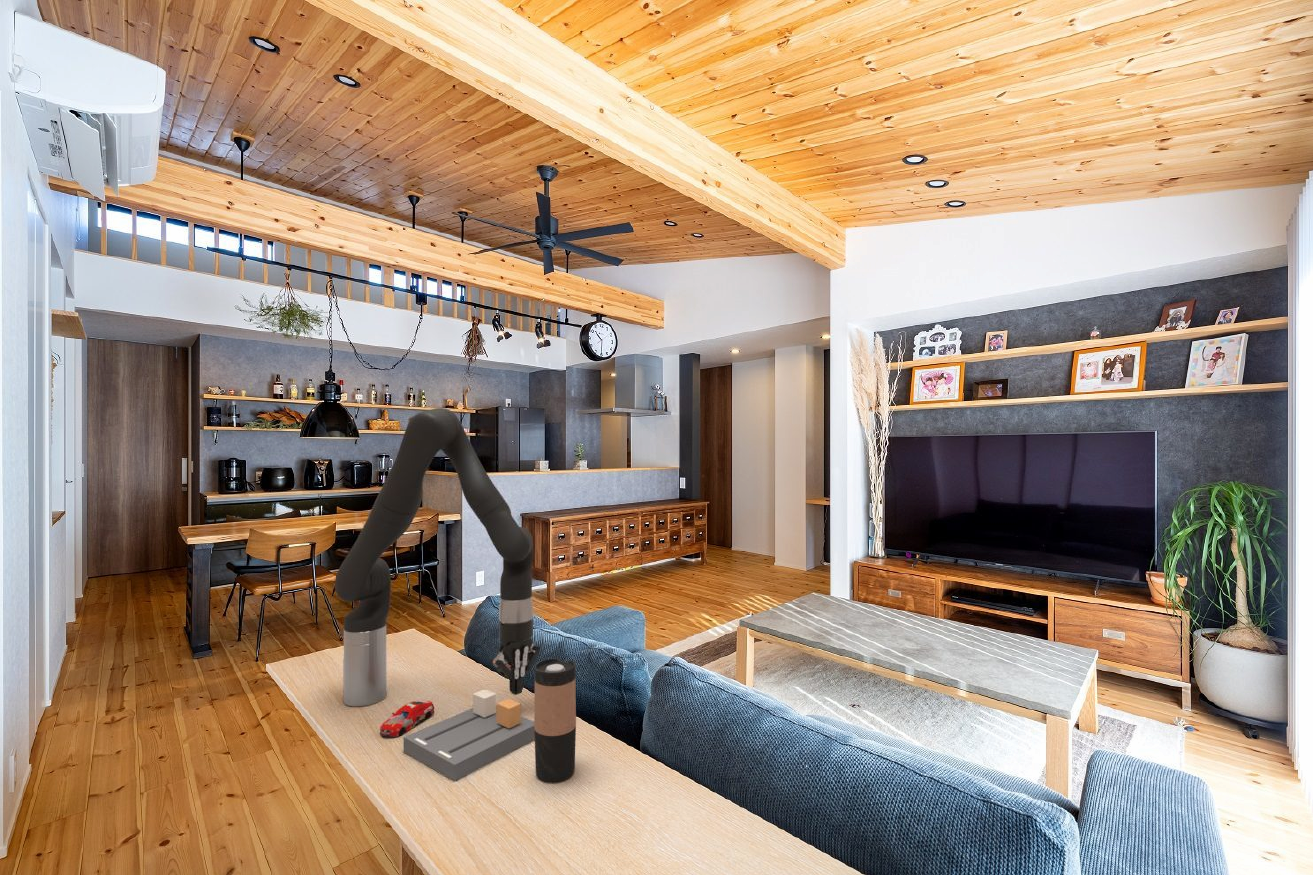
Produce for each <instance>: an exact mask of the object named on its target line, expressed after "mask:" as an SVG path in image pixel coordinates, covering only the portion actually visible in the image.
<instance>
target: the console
mask: <svg viewBox="0 0 1313 875" xmlns="http://www.w3.org/2000/svg"><path fill="white" fill-rule="evenodd" d="M402 739H403V742H402V743H403V753H404V754H406V755H408V756H409V757H411V758H413V759H415V760H416V761H418V762H420V763H422V764H423V765H425V766H427V767H428V768H430V769H432V770H434V771H435V772H437V773H439V774H441V775H443V776H444V777H446V778H448V779H449V780H452V781H453V782H456V781H458V780H460V779H462V778H464V777H466V776H468V775H469V774H472V773H473V772H475V771H477V770H480V769H481V768H483V767H485V766H487V765H489V764H490V763H492V762H494V761H497V760H498V759H501V758H502V757H504V756H506V755H508V754H510V753H511V752H514V751H516V750H517V749H520V748H521V747H523V746H525V745H527V744H529V743H531V742H533V741H535V735H534V720H532V719H529V718H527V717H524V716H522V715H521V723H520V724H518V725H516V726H514V727H511V728H507V727H505V726H502V725H500V724H498V723H497V705H496V713H494V714H492V715H489V716H487V717H485V718H484V717H482V716H480V715H478V714H475V713H473V707H471V708H470V709H467V710H464V711H463V712H460V713H458V714H455V715H453V716H450V717H448V718H445V719H443V720H440V721H439V722H438V721H437V722H436V723H434V724H431V725H429V726H426V727H424V728H422V729H420V730H417V731H415V732H412V733H410V734H408V735H405V736H403V738H402Z"/></svg>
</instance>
